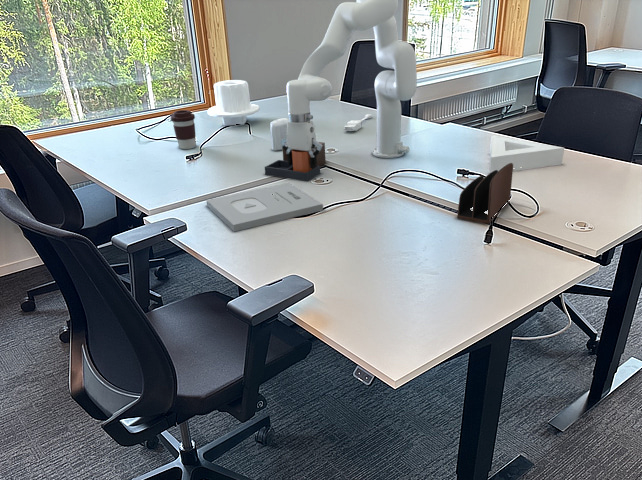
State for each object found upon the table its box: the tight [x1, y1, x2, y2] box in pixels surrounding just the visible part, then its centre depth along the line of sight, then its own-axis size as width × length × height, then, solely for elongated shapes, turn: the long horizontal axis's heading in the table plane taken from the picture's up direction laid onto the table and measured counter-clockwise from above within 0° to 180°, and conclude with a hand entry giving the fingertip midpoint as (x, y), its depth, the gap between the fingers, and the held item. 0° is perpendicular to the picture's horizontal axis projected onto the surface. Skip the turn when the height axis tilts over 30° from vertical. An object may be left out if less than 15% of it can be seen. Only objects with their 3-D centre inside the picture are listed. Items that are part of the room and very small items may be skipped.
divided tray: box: [264, 159, 321, 182], centre depth 216 cm, size 18×10×3 cm, turn 61°
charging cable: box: [343, 113, 372, 132], centre depth 276 cm, size 5×32×3 cm, turn 160°
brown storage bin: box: [281, 141, 326, 167], centre depth 224 cm, size 13×10×8 cm
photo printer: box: [269, 117, 289, 151], centre depth 243 cm, size 10×4×12 cm, turn 123°
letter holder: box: [456, 163, 514, 225], centre depth 177 cm, size 10×20×14 cm, turn 148°
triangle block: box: [489, 134, 565, 174], centre depth 216 cm, size 30×26×6 cm
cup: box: [292, 149, 312, 173], centre depth 212 cm, size 7×7×9 cm
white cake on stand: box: [207, 79, 261, 127], centre depth 282 cm, size 25×25×19 cm
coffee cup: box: [170, 109, 197, 150], centre depth 248 cm, size 10×10×15 cm
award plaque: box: [205, 182, 324, 233], centre depth 187 cm, size 25×30×2 cm
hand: (302, 165), depth 213 cm, fingers open, 9 cm apart
